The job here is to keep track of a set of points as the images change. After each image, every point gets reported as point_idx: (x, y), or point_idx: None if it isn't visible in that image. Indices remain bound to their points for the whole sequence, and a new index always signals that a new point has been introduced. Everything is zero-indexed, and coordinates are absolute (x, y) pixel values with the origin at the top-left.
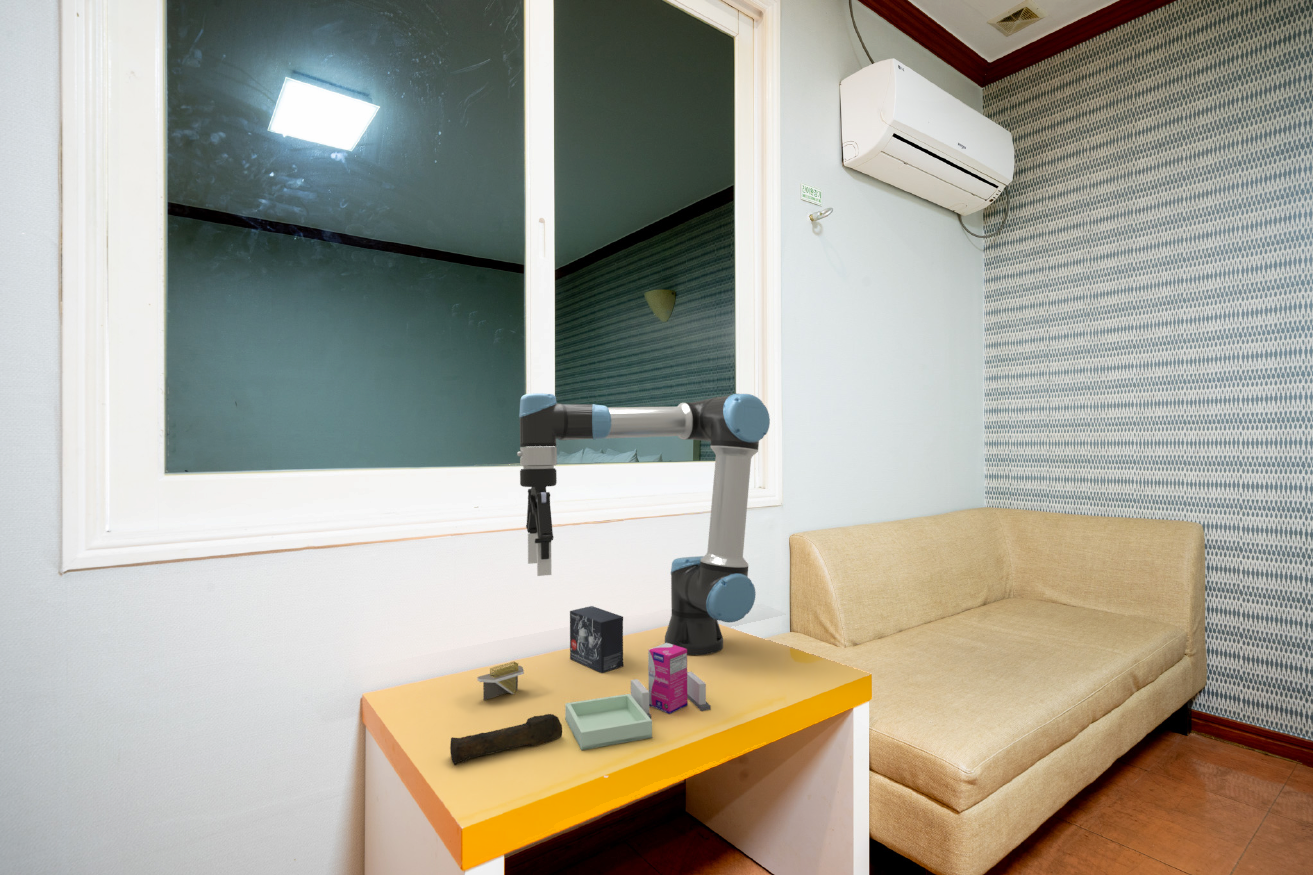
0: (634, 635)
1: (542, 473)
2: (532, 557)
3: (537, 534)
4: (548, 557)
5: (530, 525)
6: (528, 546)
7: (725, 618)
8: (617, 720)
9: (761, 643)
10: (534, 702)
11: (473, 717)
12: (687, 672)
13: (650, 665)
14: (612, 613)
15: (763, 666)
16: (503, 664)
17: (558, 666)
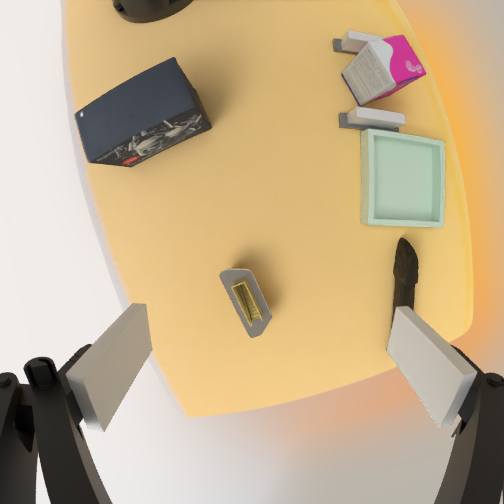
0: (76, 61)
1: None
2: (142, 347)
3: (90, 389)
4: (455, 349)
5: (93, 463)
6: (126, 390)
7: None
8: (396, 163)
9: None
10: (290, 251)
11: (306, 329)
12: (350, 36)
13: (387, 89)
14: (142, 74)
15: None
16: (240, 305)
17: (156, 190)
